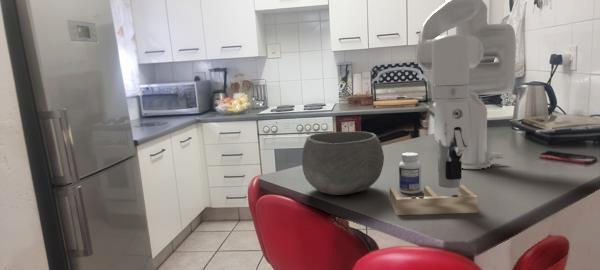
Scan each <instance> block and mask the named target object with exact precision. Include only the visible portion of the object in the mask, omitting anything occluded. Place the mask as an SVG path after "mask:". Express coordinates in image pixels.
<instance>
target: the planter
mask: <svg viewBox="0 0 600 270" xmlns="http://www.w3.org/2000/svg"><path fill="white" fill-rule="evenodd" d="M438 144H439V147H438V148H439V155H438V156H439V172H438V186H439V187H442V188H446V189H456V188H458V187H459V186H460V185H461V179H454V180H447V179H446V161H447V148H446V147H445V146H443V145H442V143H441V141H440V140H439V143H438ZM450 147H455V144H451V146H450ZM452 151H455V150H451V154H452Z"/></svg>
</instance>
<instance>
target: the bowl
mask: <svg viewBox="0 0 600 270" xmlns="http://www.w3.org/2000/svg"><path fill="white" fill-rule="evenodd" d="M301 156H302V157H301V161H302V162H301V165H302V173H303V175H304V177H305V179H306V181H307V182H308V184H309V185H311V186H312V187H313V188H314V189H315V190H316V191H319V192H320V193H323V194H328V195H333V196H342V195H352V194H355V193H358V192H362V191H364V190H366V189H369V188H370V187H371V186H373V185H374V184H375V183H376V182H377V181H378V179H379V178H380V176H381V174H382V170H383V168H384V167H383V166H384V164H385V163H384V161H385V154H384V150H383V146H382V143H381V140H380V139H379V138H378V136H377V135H376V134H375V133H374V132H368V131H334V132H333V131H332V132H318V133H314V134H311V135H308V136H307V138H306V139H305V143H304V144H303V149H302V154H301Z"/></svg>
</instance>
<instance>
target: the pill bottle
mask: <svg viewBox="0 0 600 270" xmlns="http://www.w3.org/2000/svg"><path fill="white" fill-rule="evenodd" d="M418 160H419V154H418V153H417V152H403V153H401V161H400V162H399V164H398V177H399V182H398V185H399V191H400V192H401V193H403V194H409V195H410V194H418V193H420V192H421V191H422V165H421V162H420V161H418Z"/></svg>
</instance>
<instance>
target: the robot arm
mask: <svg viewBox="0 0 600 270" xmlns="http://www.w3.org/2000/svg"><path fill="white" fill-rule="evenodd" d="M453 28H455V30H456V31H455V32H456V33H453V34H445V35H442V34H444V33H445V32H448V31H450V30H452V29H453ZM516 39H517V38H516V31H515V29H514V27H513V26H512V25H511V24H509V23H494V24H489V23H488V6H487V3H485V2H484V1H483V0H443V4H442V5H440V6H439V7H438V8H436V9H435V10H434V11H433V12H432V13H431V14H430V15H429V16H428V17H427V18H426V20H425V21H424V22H423V24H422V25H421V28H420V31H419V36H418V40H417V47H416V62H417V65H418V67H420V69H422V70H423V71H428V72H431V101H432V102H435V104H434V105H435V106H434V123H433V125H434V134H433V135H434V140H435V142H437V143H438V144H437V145H438V146H437V147H438V149H437V155H438V157H437V160H438V162H437V163H438V165H437V167H438V169H437V171H438V173H439V140H440V141H441V143H442V145H443V146H445V147H446V148H447V161H446V179H447V180H454V179H460V180H461V179H462V170H463V169H464V170H483V169H482V168H484V169H488V168H487V167H489V168H491V167H492V166H491V165H492V160H493V159H494V160H502V159H504V154H503V152H494V151H491V152H490V151H489V150H487V143H488V142H487V137H488V135H487V133H488V131H487V130H488V108H487V106H486V105H485V103H484V102H483V100H481V98H479V96H482V95H484V96H485V95H507V94H510V93H511V92H512V91H513V89H514V87H515V83H516V82H515V81H516V53H517V52H516V50H517V48H516V46H517V45H516V43H517V41H516ZM486 58H495V59H497V60H498V61H491V62H481V61H483V59H486ZM451 144H455V147H450V146H451ZM451 150H455V151H452V154H451ZM490 166H491V167H490ZM462 168H463V169H462Z"/></svg>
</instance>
